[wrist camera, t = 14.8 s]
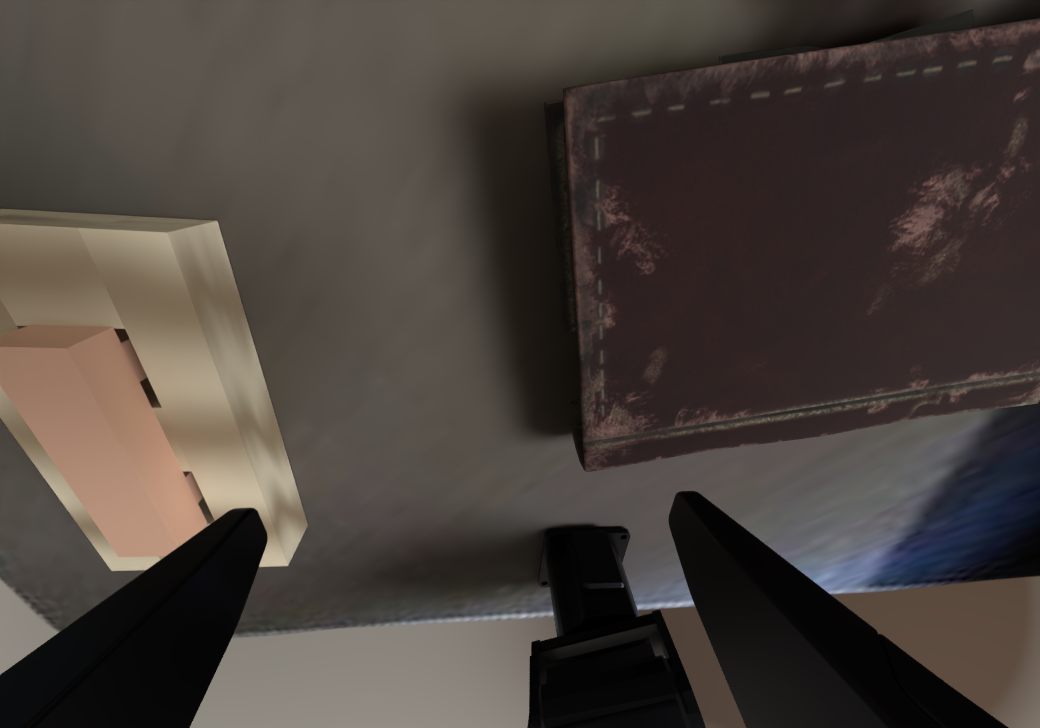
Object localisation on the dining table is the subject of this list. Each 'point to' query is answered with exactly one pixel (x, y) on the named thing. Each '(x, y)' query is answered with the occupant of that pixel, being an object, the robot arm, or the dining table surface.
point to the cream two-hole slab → (158, 355)
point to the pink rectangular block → (102, 433)
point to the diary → (801, 240)
